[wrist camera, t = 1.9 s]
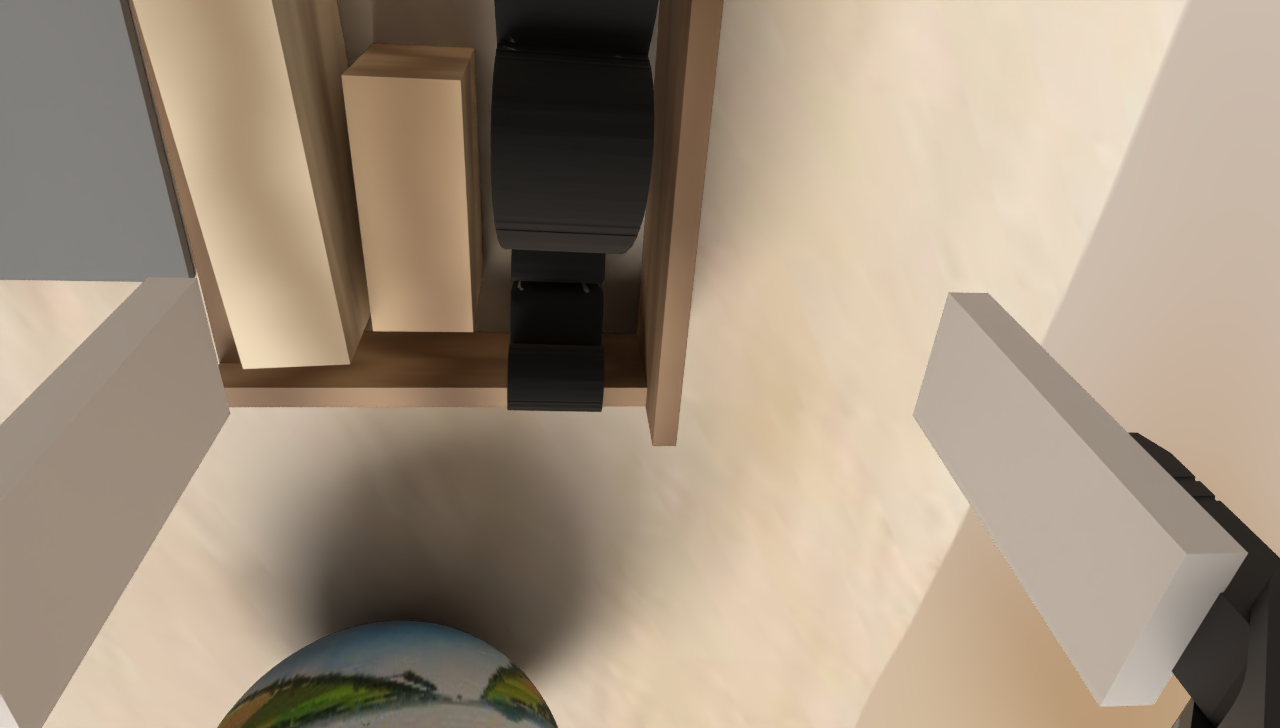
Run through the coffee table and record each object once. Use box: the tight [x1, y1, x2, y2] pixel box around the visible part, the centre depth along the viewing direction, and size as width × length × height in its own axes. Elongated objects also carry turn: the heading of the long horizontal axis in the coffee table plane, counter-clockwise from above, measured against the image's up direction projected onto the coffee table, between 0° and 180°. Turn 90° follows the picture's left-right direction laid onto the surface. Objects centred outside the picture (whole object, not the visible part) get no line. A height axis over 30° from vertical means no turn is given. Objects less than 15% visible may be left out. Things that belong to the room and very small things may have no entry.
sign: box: [491, 0, 658, 412], centre depth 25 cm, size 22×3×20 cm, turn 175°
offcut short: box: [341, 43, 483, 332], centre depth 33 cm, size 4×10×6 cm, turn 176°
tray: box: [131, 0, 723, 446], centre depth 30 cm, size 20×27×8 cm
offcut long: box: [133, 0, 371, 369], centre depth 30 cm, size 4×16×8 cm, turn 0°
